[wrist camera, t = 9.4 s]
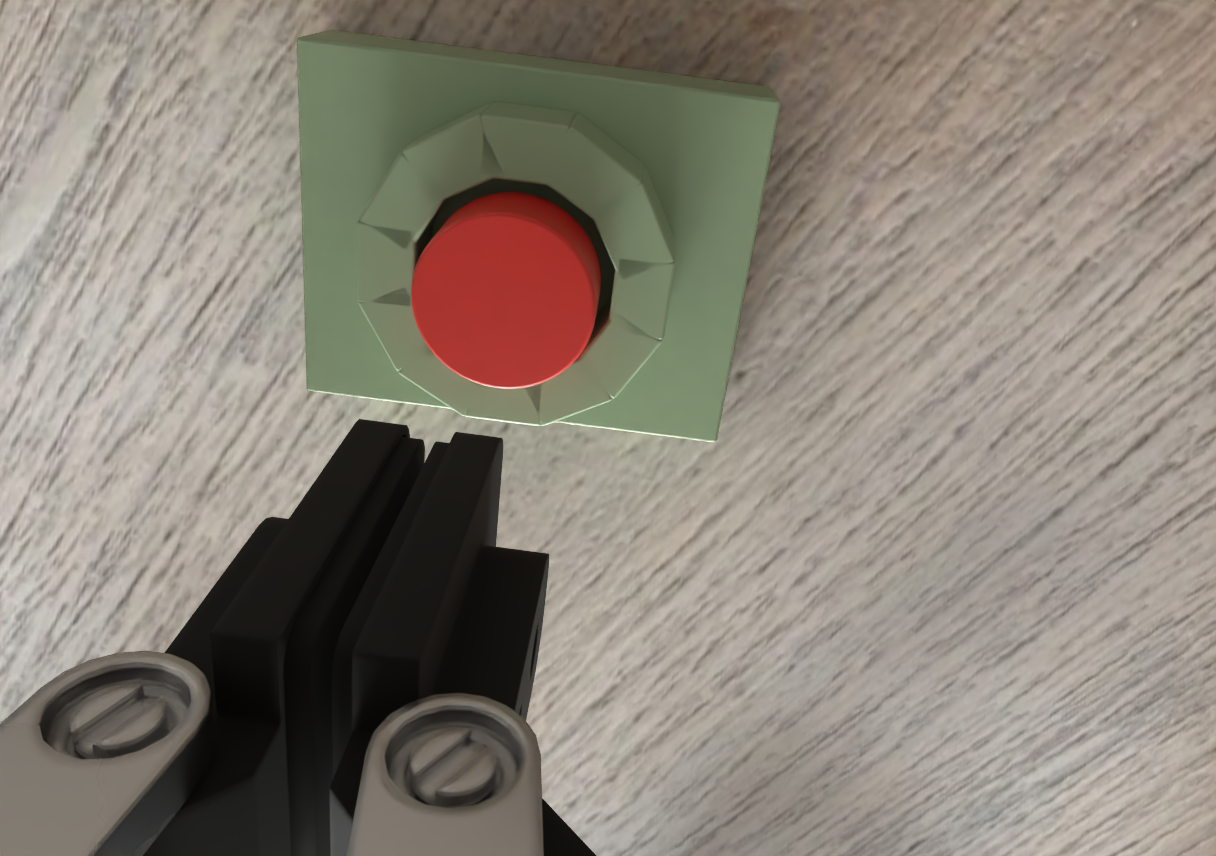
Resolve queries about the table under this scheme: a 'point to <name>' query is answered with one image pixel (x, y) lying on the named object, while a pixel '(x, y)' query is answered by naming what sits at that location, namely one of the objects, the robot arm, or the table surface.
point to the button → (507, 290)
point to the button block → (548, 168)
